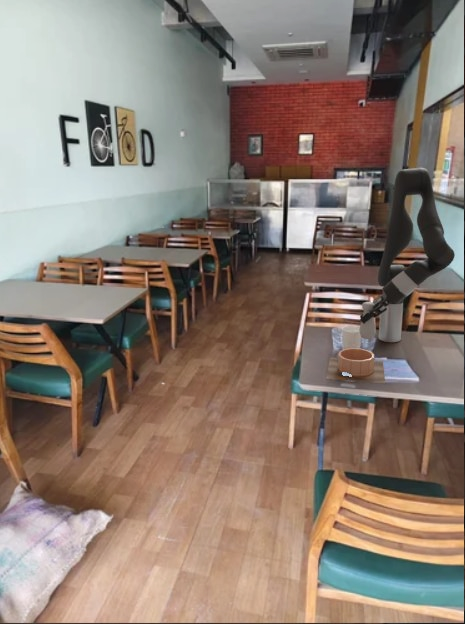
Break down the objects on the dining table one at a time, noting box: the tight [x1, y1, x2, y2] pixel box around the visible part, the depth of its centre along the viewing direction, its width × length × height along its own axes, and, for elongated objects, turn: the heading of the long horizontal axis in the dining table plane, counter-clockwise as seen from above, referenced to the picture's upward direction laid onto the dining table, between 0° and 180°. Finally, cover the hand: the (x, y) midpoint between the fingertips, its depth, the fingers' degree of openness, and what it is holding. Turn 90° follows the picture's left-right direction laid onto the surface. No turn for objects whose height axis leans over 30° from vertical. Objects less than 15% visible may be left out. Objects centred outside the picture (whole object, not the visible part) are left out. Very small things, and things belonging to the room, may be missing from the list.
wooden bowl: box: [337, 348, 375, 377], centre depth 158 cm, size 13×13×6 cm
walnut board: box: [325, 357, 386, 385], centre depth 159 cm, size 20×20×1 cm
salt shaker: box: [359, 301, 377, 340], centre depth 153 cm, size 6×6×13 cm
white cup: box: [341, 325, 362, 350], centre depth 177 cm, size 8×8×10 cm
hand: (361, 320), depth 153 cm, fingers closed on salt shaker, 3 cm apart
